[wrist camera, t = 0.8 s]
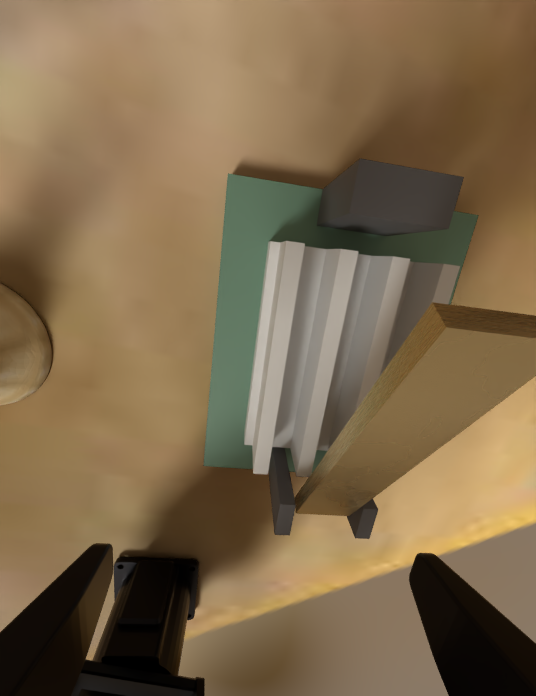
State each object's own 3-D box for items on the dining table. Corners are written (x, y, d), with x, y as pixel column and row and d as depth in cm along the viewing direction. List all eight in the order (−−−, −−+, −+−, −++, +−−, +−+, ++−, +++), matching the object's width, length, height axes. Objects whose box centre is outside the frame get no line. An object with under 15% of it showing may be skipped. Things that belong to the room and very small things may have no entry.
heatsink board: (389, 469, 23) (441, 548, 17) (205, 456, 22) (188, 538, 15) (466, 217, 18) (583, 198, 12) (228, 178, 16) (218, 133, 10)
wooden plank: (346, 500, 17) (349, 516, 17) (294, 497, 17) (295, 513, 16) (554, 318, 7) (578, 343, 6) (432, 302, 7) (446, 327, 6)
